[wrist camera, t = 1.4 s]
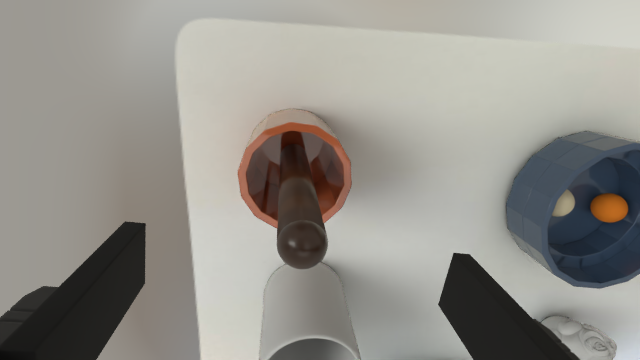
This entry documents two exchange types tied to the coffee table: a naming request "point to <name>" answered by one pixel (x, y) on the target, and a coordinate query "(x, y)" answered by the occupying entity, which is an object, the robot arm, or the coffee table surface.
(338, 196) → the holder
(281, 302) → the mug
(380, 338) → the coffee table surface
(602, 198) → the ball
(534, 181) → the bowl
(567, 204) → the ball
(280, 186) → the stick
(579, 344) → the frog figurine
